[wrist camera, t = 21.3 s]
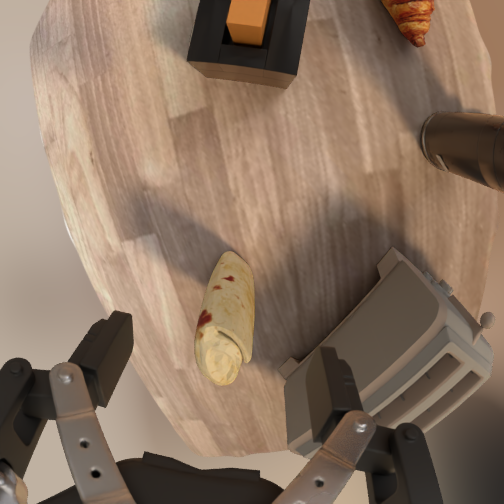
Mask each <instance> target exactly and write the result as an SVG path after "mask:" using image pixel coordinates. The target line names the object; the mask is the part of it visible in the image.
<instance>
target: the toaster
mask: <svg viewBox="0 0 504 504" xmlns="http://www.w3.org/2000/svg"><path fill="white" fill-rule="evenodd" d="M377 269H378V271H379V274H380V277H381V279H380V281H379V282H378V283H377V284H376V285H375V286H374V287H373V289H372V290H371V291H370V292H369V293H368V294H367V295H366V296H365V297H364V299H363V300H362V301H361V302H360V303H359V304H358V305H357V306H356V307H355V308H354V309H353V310H352V311H351V313H350V314H349V315H348V316H347V317H346V318H345V319H344V320H343V321H342V322H341V323H340V324H339V325H338V326H337V327H336V328H335V329H334V330H333V331H332V332H331V333H330V334H329V335H328V336H327V337H326V338H325V339H324V340H323V341H322V342H321V343H320V344H319V345H318V346H329V347H335V349H336V352H337V356H338V359H344V360H345V361H346V362H347V363H348V365H349V366H350V367H351V369H352V373H353V376H354V377H353V378H354V379H355V383H356V386H357V389H358V393H359V396H360V400H361V403H362V406H363V410H364V412H366V413H368V414H369V415H370V416H372V418H373V419H374V420H375V422H376V424H377V425H380V426H384V427H388V428H392V429H396V427H397V426H398V425H399V424H401V423H405V422H408V423H412V424H415V425H416V426H418V427H419V428H420V429H421V430H422V432H423V434H424V433H425V432H427V431H428V430H429V429H431V428H432V427H433V426H435V425H436V424H437V423H438V422H439V421H441V420H442V419H443V418H445V417H446V416H447V415H448V414H450V413H451V412H452V411H453V410H454V409H456V408H457V407H458V406H459V405H460V404H462V403H463V402H464V401H465V400H466V399H467V398H468V397H469V396H471V395H472V394H473V393H474V392H475V391H476V390H477V389H478V388H479V387H480V386H481V385H482V384H483V383H484V382H485V381H486V380H487V379H489V378H490V376H491V371H492V363H493V359H494V355H493V350H492V348H491V346H490V345H489V343H488V342H487V341H486V339H485V338H484V337H483V336H482V334H481V333H482V331H483V328H485V329H490V328H491V327H492V326H493V325H494V323H495V317H494V315H493V314H492V313H491V312H486V313H484V314H483V315H482V316H481V320H480V323H481V326H480V325H479V324H478V323H477V321H476V320H475V319H474V318H473V317H472V316H471V314H470V313H469V312H468V311H467V310H466V309H465V308H464V306H463V305H462V304H461V303H460V302H459V301H458V300H457V299H456V297H455V296H454V295H452V296H450V294H451V293H452V292H453V288H452V287H450V286H449V285H448V284H447V283H446V282H445V281H444V280H441V281H440V283H439V284H438V283H437V282H436V280H435V279H434V278H433V277H432V276H431V275H430V274H429V273H428V272H427V271H424V272H423V273H422V272H421V271H420V270H419V269H417V268H416V267H415V266H414V265H413V264H412V263H411V262H410V261H409V260H408V259H407V258H406V257H404V256H403V255H402V254H401V253H400V252H399V251H398V250H396V249H395V248H394V247H392V248H391V249H390V250H389V251H388V253H387V254H386V255H385V256H384V257H383V259H382V260H381V261H380V262H379V263H378V264H377ZM315 349H316V348H315ZM315 349H314V350H313V351H312V352H311V353H310V354H309V355H308V356H307V357H306V358H305V359H304V360H303V361H301V362H300V361H298V360H296V359H294V358H292V357H290V358H289V359H288V360H287V361H286V362H285V363H284V364H283V365H282V366H281V367H280V368H279V369H278V371H279V372H280V373H281V374H282V376H283V377H284V379H285V380H287V382H286V384H285V386H284V396H285V411H286V427H287V444H288V449H289V450H290V451H291V452H293V453H295V454H298V455H302V456H303V457H305V458H308V459H311V458H312V457H313V456H314V455H315V453H316V452H317V451H318V450H319V449H320V447H322V443H313V437H312V429H311V421H310V414H309V406H308V398H307V391H306V384H305V378H306V372H307V369H308V366H309V364H310V361H311V359H312V356H313V354H314V351H315Z"/></svg>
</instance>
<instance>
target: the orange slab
mask: <svg viewBox="0 0 504 504" xmlns="http://www.w3.org/2000/svg"><path fill="white" fill-rule="evenodd" d="M271 4H272V0H231V4H230V8H229V12H228V17H227V21H226V23H227V26H228V29H229V32H230V35H231V37H232V40H233V43H234V45H235V46H243V47H251V48H258V49H262V47H263V42H264V38H265V33H266V28H267V23H268V18H269V14H270V9H271Z"/></svg>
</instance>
